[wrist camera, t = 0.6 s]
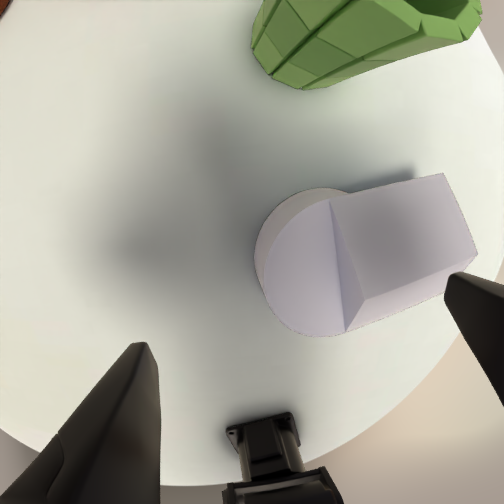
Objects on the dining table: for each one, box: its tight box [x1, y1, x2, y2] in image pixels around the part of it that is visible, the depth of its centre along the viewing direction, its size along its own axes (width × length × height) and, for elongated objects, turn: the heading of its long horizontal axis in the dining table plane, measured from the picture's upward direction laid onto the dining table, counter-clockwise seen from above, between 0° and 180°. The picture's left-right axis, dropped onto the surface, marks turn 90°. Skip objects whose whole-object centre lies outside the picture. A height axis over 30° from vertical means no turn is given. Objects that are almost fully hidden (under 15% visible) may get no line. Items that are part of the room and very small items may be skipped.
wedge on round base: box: [254, 173, 478, 337], centre depth 17 cm, size 9×7×13 cm
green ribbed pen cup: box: [251, 0, 482, 90], centre depth 10 cm, size 6×7×12 cm
